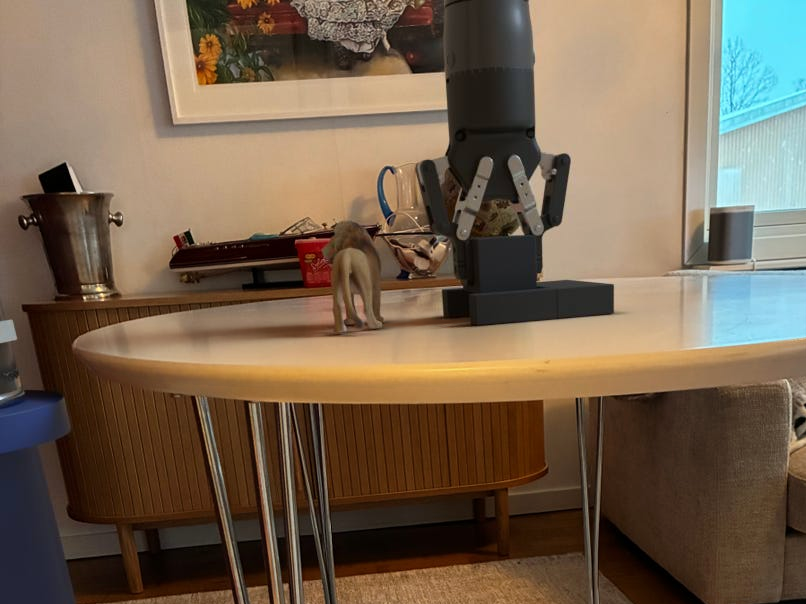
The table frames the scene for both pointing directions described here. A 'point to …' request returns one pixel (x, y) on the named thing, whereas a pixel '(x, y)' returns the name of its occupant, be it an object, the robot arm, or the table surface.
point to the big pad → (531, 302)
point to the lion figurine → (354, 275)
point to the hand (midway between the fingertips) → (498, 282)
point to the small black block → (503, 264)
